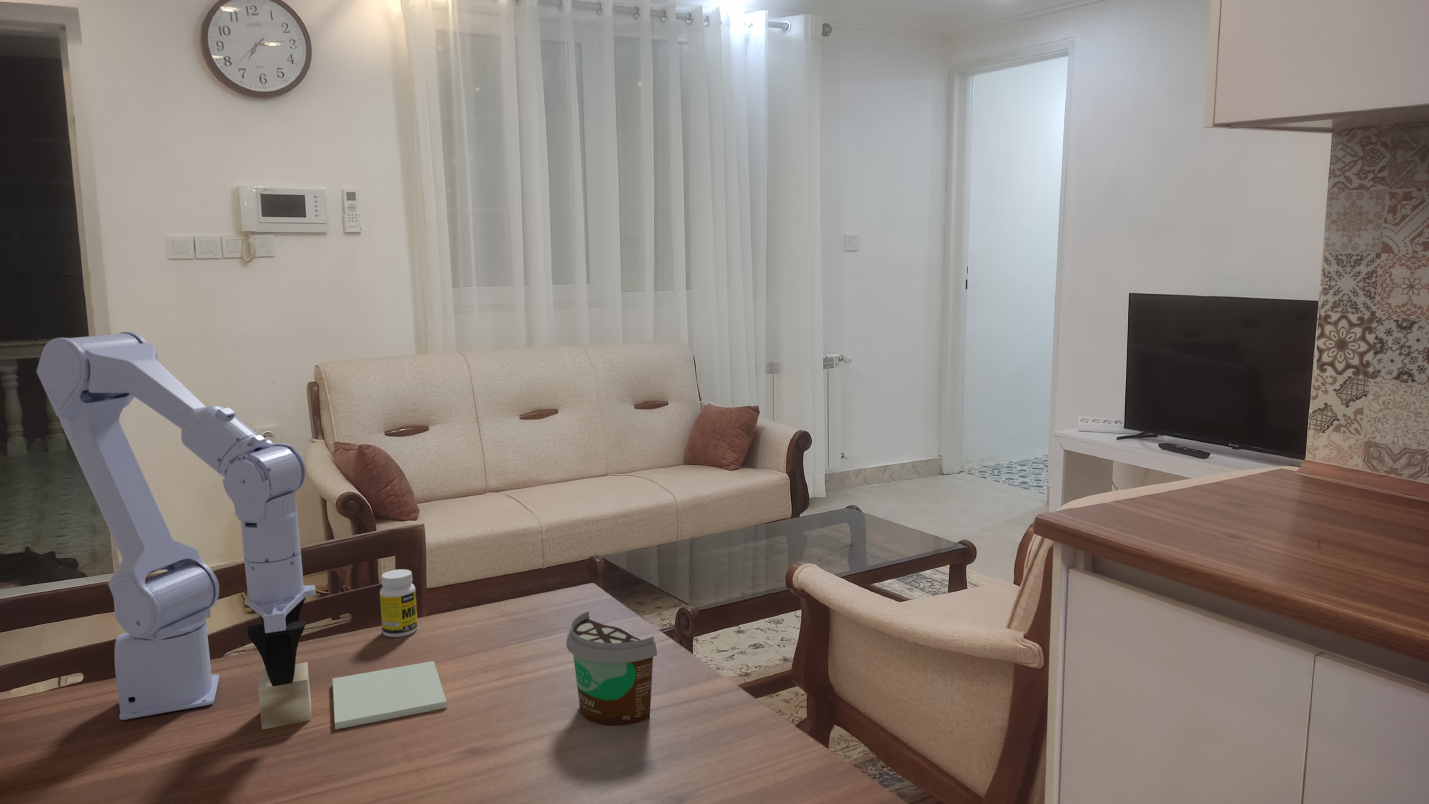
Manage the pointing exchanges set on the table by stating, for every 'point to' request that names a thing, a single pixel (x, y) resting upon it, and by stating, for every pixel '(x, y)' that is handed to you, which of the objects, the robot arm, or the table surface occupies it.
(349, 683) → the tile
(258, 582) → the robot arm
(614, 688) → the food container
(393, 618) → the supplement bottle
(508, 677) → the table surface
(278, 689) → the cube
